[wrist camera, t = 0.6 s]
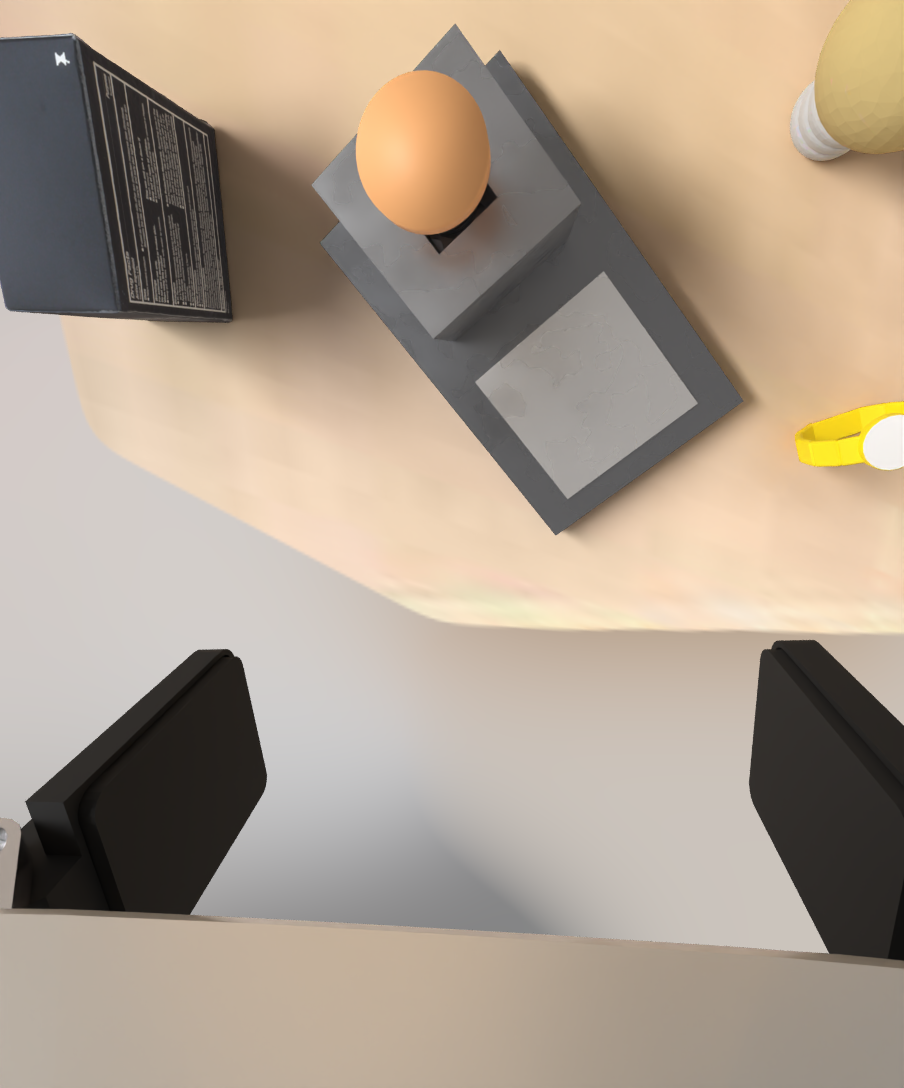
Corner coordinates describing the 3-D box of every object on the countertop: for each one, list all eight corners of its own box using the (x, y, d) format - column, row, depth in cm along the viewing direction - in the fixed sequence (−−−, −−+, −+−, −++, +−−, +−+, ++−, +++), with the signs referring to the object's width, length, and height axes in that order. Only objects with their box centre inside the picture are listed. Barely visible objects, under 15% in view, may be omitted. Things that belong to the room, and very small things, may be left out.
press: (501, 64, 29) (489, -61, 21) (734, 398, 33) (810, 416, 24) (328, 247, 33) (255, 209, 24) (554, 528, 37) (563, 584, 28)
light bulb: (913, 141, 28) (1104, 38, 19) (786, 220, 30) (903, 161, 21) (866, 11, 27) (1046, -169, 18) (736, 102, 29) (837, -19, 19)
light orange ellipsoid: (457, 127, 25) (428, 34, 17) (519, 212, 25) (516, 157, 18) (384, 203, 26) (329, 146, 19) (445, 282, 27) (415, 257, 20)
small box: (110, 127, 33) (-68, 30, 23) (217, 124, 32) (79, 23, 22) (139, 322, 36) (-5, 311, 26) (236, 324, 36) (124, 313, 26)
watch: (787, 464, 34) (828, 489, 29) (777, 421, 34) (817, 438, 28) (899, 431, 33) (966, 450, 27) (892, 384, 32) (959, 395, 26)
